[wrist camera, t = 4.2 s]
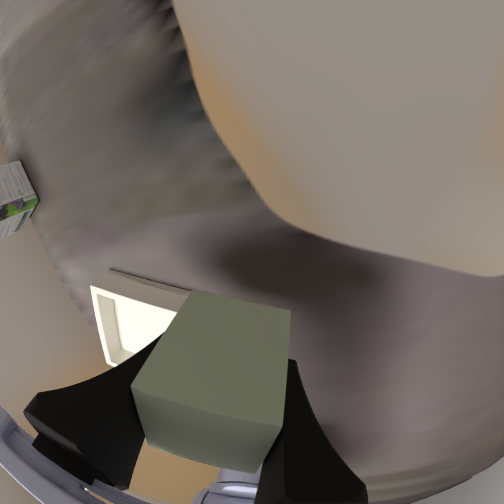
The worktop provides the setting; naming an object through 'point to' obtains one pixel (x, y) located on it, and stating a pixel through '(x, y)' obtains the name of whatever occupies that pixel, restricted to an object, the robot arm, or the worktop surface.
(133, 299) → the bin
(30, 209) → the syrup box
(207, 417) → the block
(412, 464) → the worktop surface
